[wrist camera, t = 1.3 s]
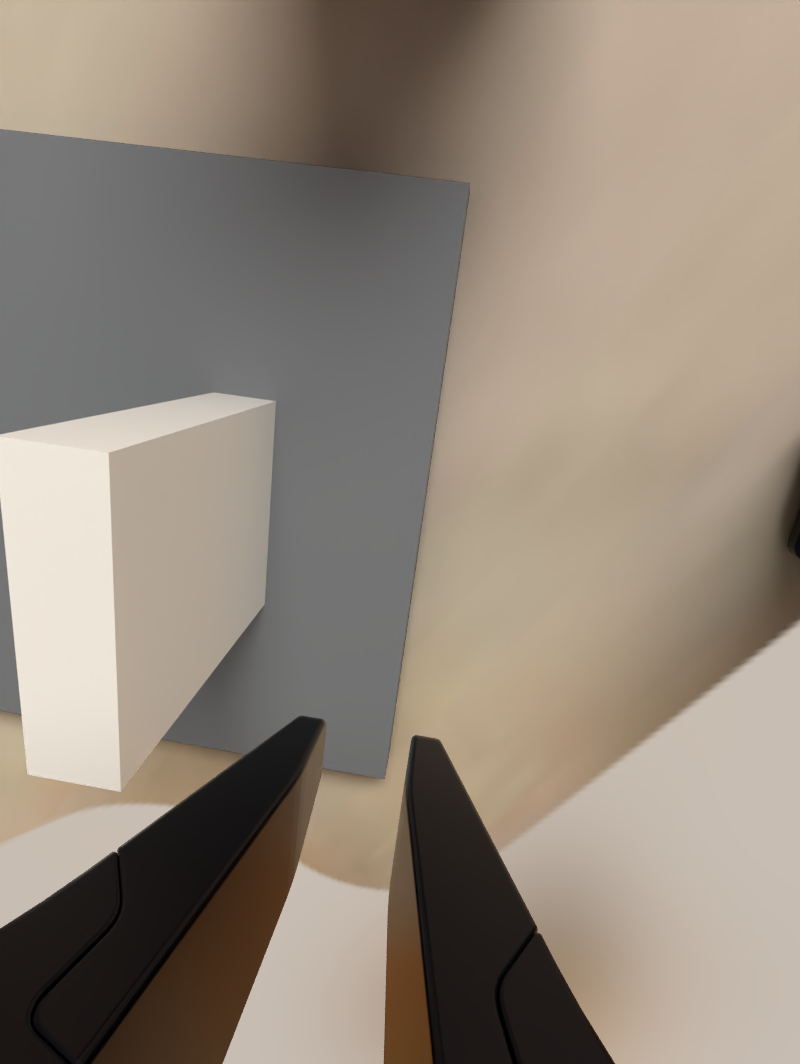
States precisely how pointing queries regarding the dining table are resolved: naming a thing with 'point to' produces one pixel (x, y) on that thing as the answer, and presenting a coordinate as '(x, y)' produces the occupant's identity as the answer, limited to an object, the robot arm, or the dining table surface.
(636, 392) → the dining table surface
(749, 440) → the dining table surface
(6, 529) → the tile
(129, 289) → the mat
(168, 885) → the robot arm
